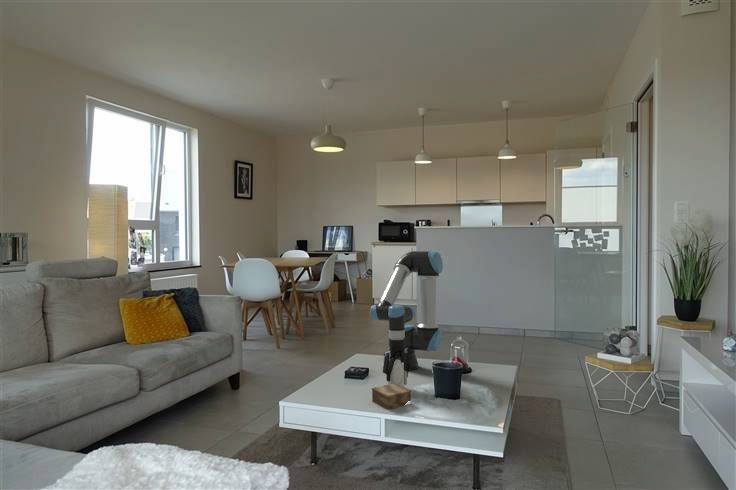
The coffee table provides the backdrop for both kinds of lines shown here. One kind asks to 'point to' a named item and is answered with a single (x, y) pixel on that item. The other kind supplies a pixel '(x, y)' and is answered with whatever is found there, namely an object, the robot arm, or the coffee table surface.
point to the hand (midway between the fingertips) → (397, 385)
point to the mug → (398, 373)
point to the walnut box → (391, 396)
